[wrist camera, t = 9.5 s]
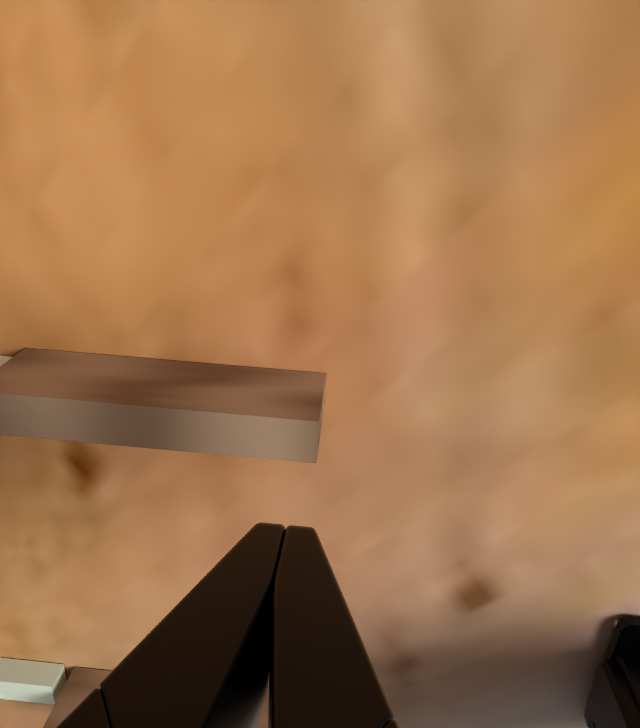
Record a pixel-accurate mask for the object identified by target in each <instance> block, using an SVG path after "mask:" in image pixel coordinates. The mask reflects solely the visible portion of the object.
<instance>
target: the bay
mask: <svg viewBox="0 0 640 728" xmlns="http://www.w3.org/2000/svg"><path fill="white" fill-rule="evenodd" d="M11 358H12V357H10V356H0V366H1V365H3V364H4V363H5V362H7V361H8V360H10V359H11ZM66 682H67V681H66V675H65V669H64V664H56V663H46V662H37V661H28V660H18V659H9V658H0V699H8V700H17V701H26V702H35V703H44V704H53V705H55V703H56V702H57V700H58V698H59V696H60V694H61V692H62V690H63V688H64V686H65V684H66Z"/></svg>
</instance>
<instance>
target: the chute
mask: <svg viewBox="0 0 640 728" xmlns="http://www.w3.org/2000/svg"><path fill="white" fill-rule="evenodd" d="M325 384H326V373H316V372H304V371H292V370H280V369H269V368H257V367H245V366H233V365H221V364H210V363H198V362H186V361H174V360H162V359H151V358H139V357H127V356H115V355H103V354H92V353H80V352H68V351H56V350H44V349H33V348H25V349H23V350H22V351H21V352H19V353H18V354H16V355H15V356H14V357H12V358H11V359H10V360H8V361H7V362H5V363H4V364H3V365H1V366H0V435H10V436H21V437H32V438H43V439H54V440H65V441H76V442H87V443H98V444H109V445H120V446H131V447H142V448H153V449H164V450H175V451H186V452H197V453H208V454H219V455H230V456H241V457H252V458H263V459H274V460H285V461H296V462H307V463H316V462H317V455H318V447H319V440H320V433H321V426H322V419H323V411H324V398H325ZM111 672H112V671H108V670H98V669H89V668H80V667H74V669H73V670H72V672H71V674H70V676H69V678H68V680H67V682H66V684H65V686H64V688H63V690H62V692H61V694H60V696H59V698H58V700H57V702H56V703H55V705H54V707H53V709H52V711H51V713H50V715H49V717H48V719H47V721H46V723H45V725H44V727H43V728H56V727H57V726H58V725H59V724H60V723H61V722H62V721H63V720H64V719H65V718H66V717H67V716H68V715H69V714H70V713H71V712H72V711H73V710H74V709H75V708H76V707H77V706H78V705H79V704H80V703H81V702H82V701H83V700H84V699H85V698H86V697H87V696H88V695H89V694H90V693H91V692H92V691H93V690H94V689H95V688H99V689H100V684H101V682H102V681H103V680H104V679H105V678H106V677H107V676H108V675H109V674H110V673H111ZM268 703H269V688H267V692H266V697H265V701H264V705H263V709H262V713H261V717H260V720H259V724H258V728H268Z"/></svg>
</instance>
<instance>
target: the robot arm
mask: <svg viewBox="0 0 640 728" xmlns="http://www.w3.org/2000/svg"><path fill="white" fill-rule="evenodd" d="M268 683H269V703H268V728H399V727H398V724H397V722H396V721H395V720H393V713H392V711H391V708H390V706H389V704H388V701H387V699H386V697H385V694H384V692H383V689H382V687H381V685H380V682H379V680H378V678H377V675H376V673H375V670H374V668H373V666H372V663H371V661H370V659H369V656H368V654H367V651H366V649H365V647H364V644H363V642H362V640H361V637H360V635H359V632H358V630H357V628H356V625H355V623H354V621H353V618H352V616H351V613H350V611H349V609H348V606H347V604H346V602H345V599H344V597H343V594H342V592H341V590H340V587H339V585H338V582H337V580H336V578H335V575H334V573H333V571H332V568H331V566H330V563H329V561H328V559H327V556H326V554H325V552H324V549H323V547H322V544H321V542H320V540H319V537H318V535H317V533H316V531H315V529H313V528H311V527H303V526H292V525H291V526H288V527H287V528H286V530H285V527H284V526H283V525H281V524H271V523H258V524H256V525H255V526H254V527H253V528H252V529H251V530H250V531H249V532H248V533H247V534H246V535H245V536H244V537H243V538H242V539H241V540H240V541H239V542H238V543H237V544H236V545H235V546H234V547H233V548H232V549H231V550H230V551H229V552H228V553H227V554H226V555H225V556H224V557H223V558H222V559H221V560H220V561H219V562H218V563H217V565H216V566H215V567H214V568H213V569H212V570H211V571H210V572H209V573H208V574H207V575H206V576H205V577H204V578H203V579H202V580H201V581H200V582H199V583H198V584H197V585H196V586H195V587H194V588H193V589H192V590H191V591H190V592H189V593H188V594H187V595H186V596H185V597H184V598H183V599H182V600H181V601H180V602H179V603H178V604H177V605H176V606H175V607H174V609H173V610H172V611H171V612H170V613H169V614H168V615H167V616H166V617H165V618H164V619H163V620H162V621H161V622H160V623H159V624H158V625H157V626H156V627H155V628H154V629H153V630H152V631H151V632H150V633H149V634H148V635H147V636H146V637H145V638H144V639H143V640H142V641H141V642H140V643H139V644H138V645H137V646H136V647H135V648H134V649H133V650H132V651H131V653H130V654H129V655H128V656H127V657H126V658H125V659H124V660H123V661H122V662H121V663H120V664H119V665H118V666H117V667H116V668H115V669H114V670H113V671H112V672H111V673H110V674H109V675H108V676H107V677H106V678H105V679H104V680H103V681H102V682H101V684H100V689H99V688H95V689H94V690H93V691H92V692H91V693H90V694H89V695H88V696H87V697H86V698H85V699H84V700H83V701H82V702H81V703H80V704H79V705H78V706H77V707H76V708H75V709H74V710H73V711H72V712H71V713H70V714H69V715H68V716H67V717H66V718H65V719H64V720H63V721H62V722H61V723H60V724H59V725H58V726H57V727H56V728H258V724H259V720H260V717H261V713H262V709H263V705H264V701H265V697H266V692H267V688H268ZM587 704H588V706H587V709H586V711H585V715H584V717H585V720H586V723H587V726H588V727H589V728H640V618H635V617H627V618H624V619H621V620H620V621H619V622H618V623H617V625H616V627H615V630H614V633H613V636H612V639H611V641H610V644H609V647H608V650H607V653H606V655H605V658H604V660H603V661H602V662H601V664H600V666H599V668H598V671H597V674H596V677H595V680H594V683H593V685H592V688H591V691H590V694H589V697H588V699H587Z"/></svg>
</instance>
